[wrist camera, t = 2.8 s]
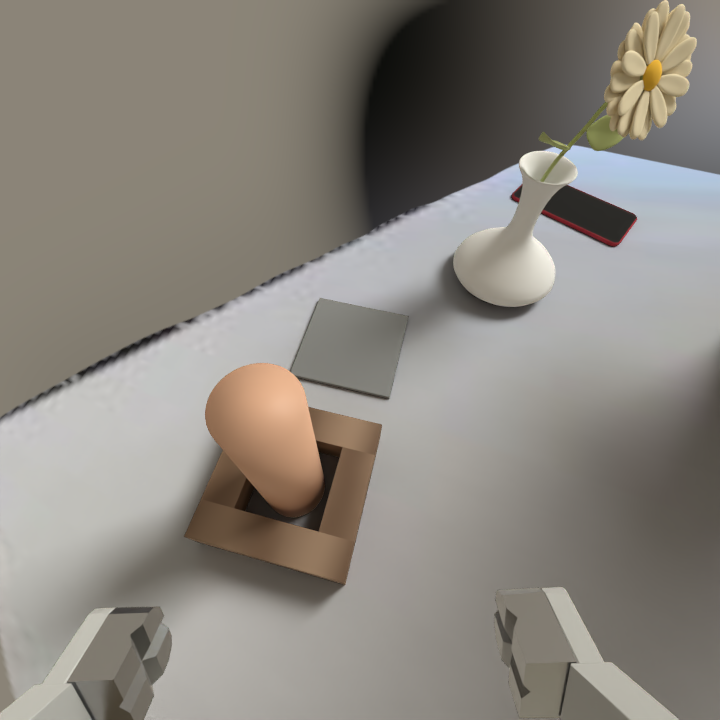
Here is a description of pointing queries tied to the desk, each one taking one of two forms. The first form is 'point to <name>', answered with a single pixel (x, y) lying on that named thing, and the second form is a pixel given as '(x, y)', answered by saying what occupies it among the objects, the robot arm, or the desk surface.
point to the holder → (287, 541)
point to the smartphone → (587, 214)
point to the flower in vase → (553, 171)
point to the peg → (269, 435)
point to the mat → (351, 347)
